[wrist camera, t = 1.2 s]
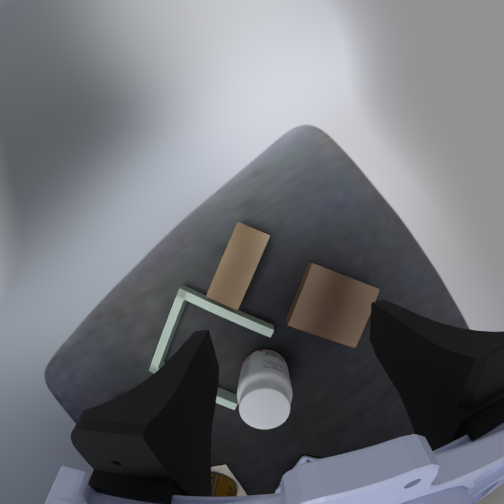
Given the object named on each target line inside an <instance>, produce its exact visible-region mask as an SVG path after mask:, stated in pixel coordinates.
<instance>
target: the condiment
mask: <svg viewBox="0 0 504 504" xmlns="http://www.w3.org/2000/svg"><path fill="white" fill-rule="evenodd" d="M211 490H212V497H232V496H248V495H247V494H246V493H245V491H244V490H243V488H242V487H241V485H240V484H239V482H238V481H237V479H236V478H235V477H234V475H233V474H232V473H231V471H230V470H229V468H228V467H227V465H220V466H214V467H211Z"/></svg>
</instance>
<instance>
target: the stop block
mask: <svg viewBox="0 0 504 504" xmlns="http://www.w3.org/2000/svg"><path fill="white" fill-rule="evenodd" d="M269 238H270V235H268V234H265V233H263V232H261V231H258V230H256V229H254V228H251V227H249V226H247V225H244V224H242V223H240V222H237V225H236V227H235V229H234V232H233V234H232V236H231V239H230V241H229V243H228V246H227V248H226V250H225V253H224V255H223V257H222V260H221V262H220V264H219V267H218V269H217V271H216V274H215V276H214V278H213V281H212V283H211V286H210V288H209V290H208V293H207V295H206V297H208V298H211V299H213V300H215V301H217V302H219V303H222V304H224V305H226V306H228V307H231V308H233V309H235V310H237V311H238V309H239V307H240V305H241V302H242V300H243V298H244V296H245V293H246V291H247V289H248V287H249V284H250V282H251V280H252V277H253V275H254V273H255V270H256V268H257V266H258V264H259V261H260V259H261V257H262V254H263V252H264V250H265V247H266V245H267V243H268V241H269Z"/></svg>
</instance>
